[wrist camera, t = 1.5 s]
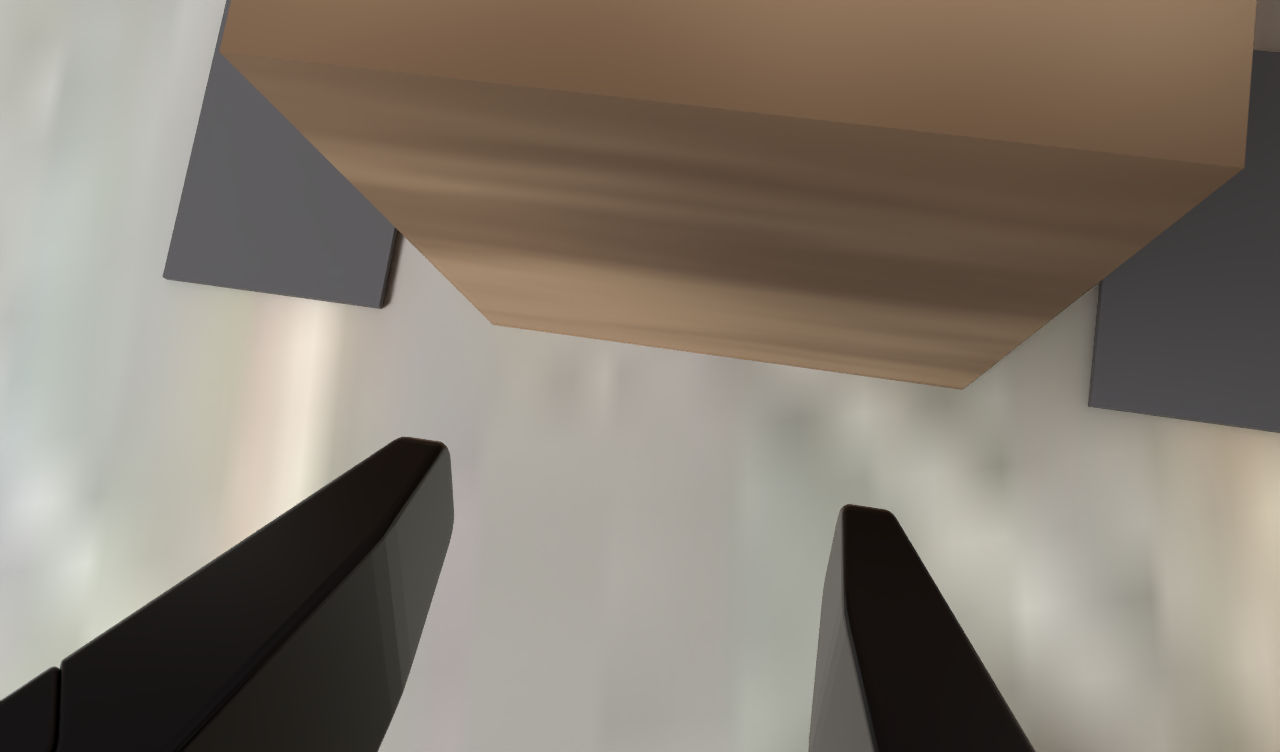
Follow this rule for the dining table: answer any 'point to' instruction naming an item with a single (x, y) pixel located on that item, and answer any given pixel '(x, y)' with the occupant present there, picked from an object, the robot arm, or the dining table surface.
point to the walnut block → (769, 158)
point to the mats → (1128, 297)
